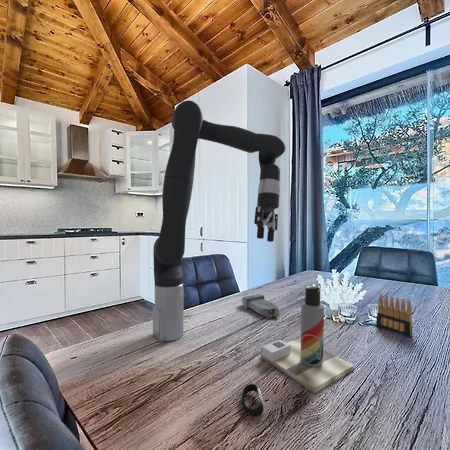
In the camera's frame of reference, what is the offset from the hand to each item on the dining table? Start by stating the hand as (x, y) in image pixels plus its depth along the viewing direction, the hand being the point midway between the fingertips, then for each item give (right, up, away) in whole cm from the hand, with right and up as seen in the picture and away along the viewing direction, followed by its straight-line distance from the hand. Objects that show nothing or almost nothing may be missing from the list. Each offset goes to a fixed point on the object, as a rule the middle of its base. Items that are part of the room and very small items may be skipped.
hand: (265, 240), depth 92 cm
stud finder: (0, -31, -17) cm, 35 cm away
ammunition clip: (+44, -31, 0) cm, 54 cm away
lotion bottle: (+9, -31, -21) cm, 39 cm away
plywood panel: (+8, -32, -20) cm, 38 cm away
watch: (-8, -33, -35) cm, 49 cm away
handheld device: (+2, -31, +19) cm, 36 cm away
